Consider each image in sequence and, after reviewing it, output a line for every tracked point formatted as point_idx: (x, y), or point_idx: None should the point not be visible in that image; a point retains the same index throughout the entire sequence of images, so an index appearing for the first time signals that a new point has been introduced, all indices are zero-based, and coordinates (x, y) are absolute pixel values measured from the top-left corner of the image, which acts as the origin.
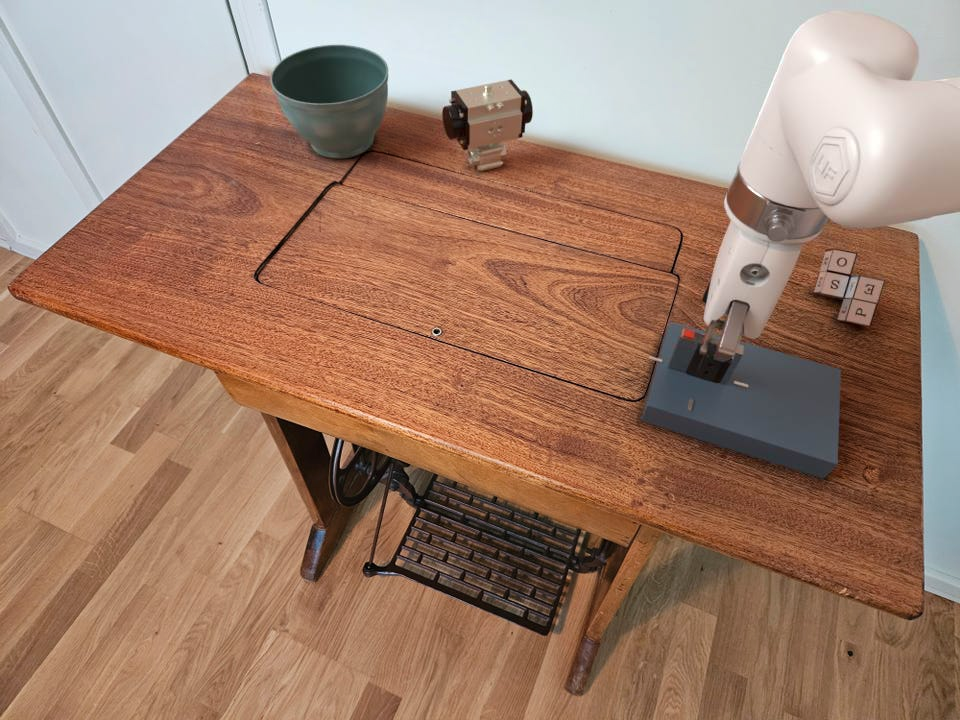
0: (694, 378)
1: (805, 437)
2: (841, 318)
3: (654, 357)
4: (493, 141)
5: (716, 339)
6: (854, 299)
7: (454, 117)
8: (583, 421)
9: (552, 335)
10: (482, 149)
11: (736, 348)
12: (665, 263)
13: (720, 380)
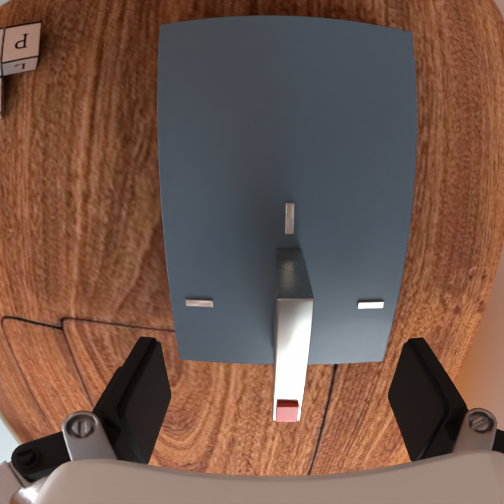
0: None
1: (379, 81)
2: (34, 64)
3: None
4: None
5: (281, 363)
6: (2, 59)
7: None
8: (382, 389)
9: (254, 441)
10: None
11: (491, 447)
12: (53, 336)
13: (424, 342)
